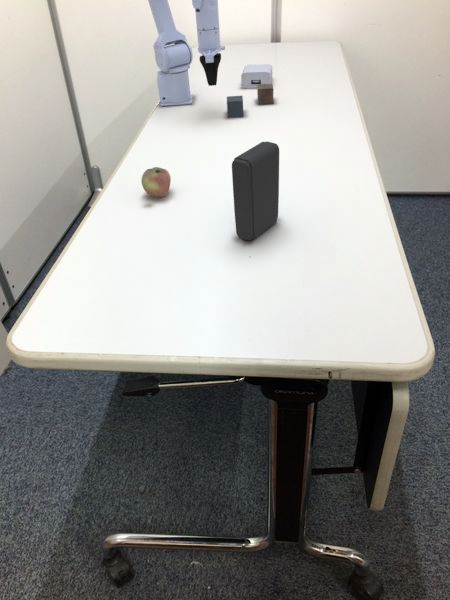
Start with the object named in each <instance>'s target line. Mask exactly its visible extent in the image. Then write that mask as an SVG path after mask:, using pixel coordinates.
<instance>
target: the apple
mask: <svg viewBox="0 0 450 600" xmlns="http://www.w3.org/2000/svg"><path fill="white" fill-rule="evenodd" d="M140 181H141V186H142V188H143V190H144V192H145V193H146V194H147V195H148V196H149V197H153V198H163V197H167V195H169V193H170V187H171V181H172V179H171V174H170V172H169V170H167V169H166V168H162V167H159V166H154V167H152V168H148V169H146V170H144V172H143V173H142V176H141V180H140Z"/></svg>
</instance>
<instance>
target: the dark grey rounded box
mask: <svg viewBox="0 0 450 600" xmlns="http://www.w3.org/2000/svg"><path fill="white" fill-rule="evenodd" d="M231 177H232V179H231V180H232V193H233V194H232V195H233V210H234V211H233V212H234V223H235V233H236V236H237V237H238V238H240V239H242V240H244V241H247V242H249V241H253V240H254V239H256V238H258V236H260V235H262V233H264V232H265V231H266V230H268V229H269V228H270V227H271V226H273V225H274V224H276V222H277V221H278V218H279V200H280V199H279V197H280V191H279V190H280V147H279V145H278V144H277V143H275V142H271V141H267V140H266V141H261V142H259V143H258V144H256V145H254V146H253V147H251V148H249V149H247V150H246V151H244V152H242V153H240V154H239V155H238V156H236V157H234V159H233V161H232V163H231Z"/></svg>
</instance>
